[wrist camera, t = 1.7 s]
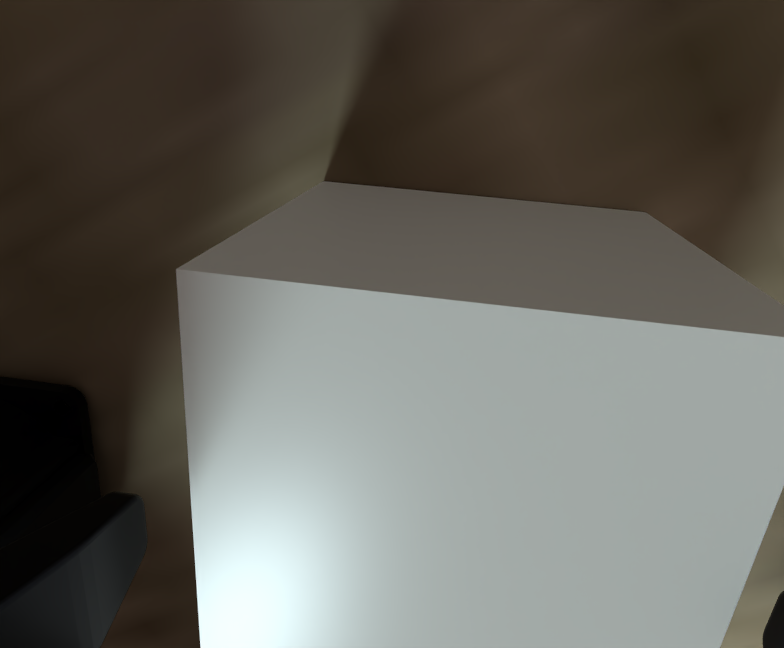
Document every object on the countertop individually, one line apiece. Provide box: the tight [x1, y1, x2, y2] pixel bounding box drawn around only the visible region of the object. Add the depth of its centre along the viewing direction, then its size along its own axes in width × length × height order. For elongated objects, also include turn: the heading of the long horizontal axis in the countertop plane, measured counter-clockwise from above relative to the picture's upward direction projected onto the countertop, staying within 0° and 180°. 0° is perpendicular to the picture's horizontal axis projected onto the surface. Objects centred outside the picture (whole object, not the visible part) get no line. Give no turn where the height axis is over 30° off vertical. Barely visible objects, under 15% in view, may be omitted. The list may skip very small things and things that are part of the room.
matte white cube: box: [176, 181, 784, 648], centre depth 12 cm, size 8×8×8 cm
